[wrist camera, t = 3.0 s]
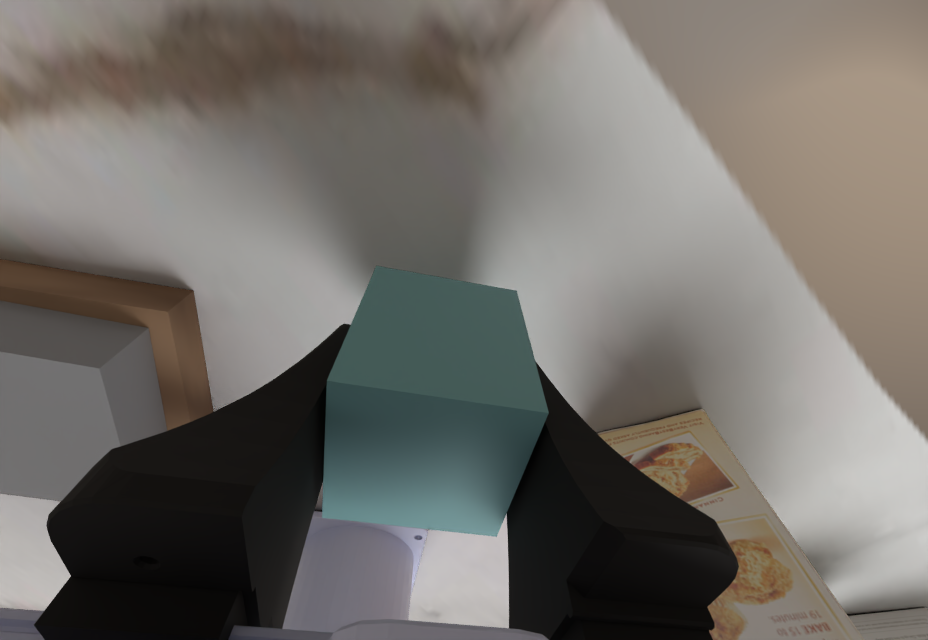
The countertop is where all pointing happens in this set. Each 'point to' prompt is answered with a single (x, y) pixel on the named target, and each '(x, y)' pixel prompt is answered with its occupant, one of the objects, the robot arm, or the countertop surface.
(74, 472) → the gray square slab
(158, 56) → the countertop surface
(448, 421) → the teal block
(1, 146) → the countertop surface
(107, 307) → the walnut slab
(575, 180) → the countertop surface
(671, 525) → the robot arm
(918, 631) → the supplement box
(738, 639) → the coffeecake box
